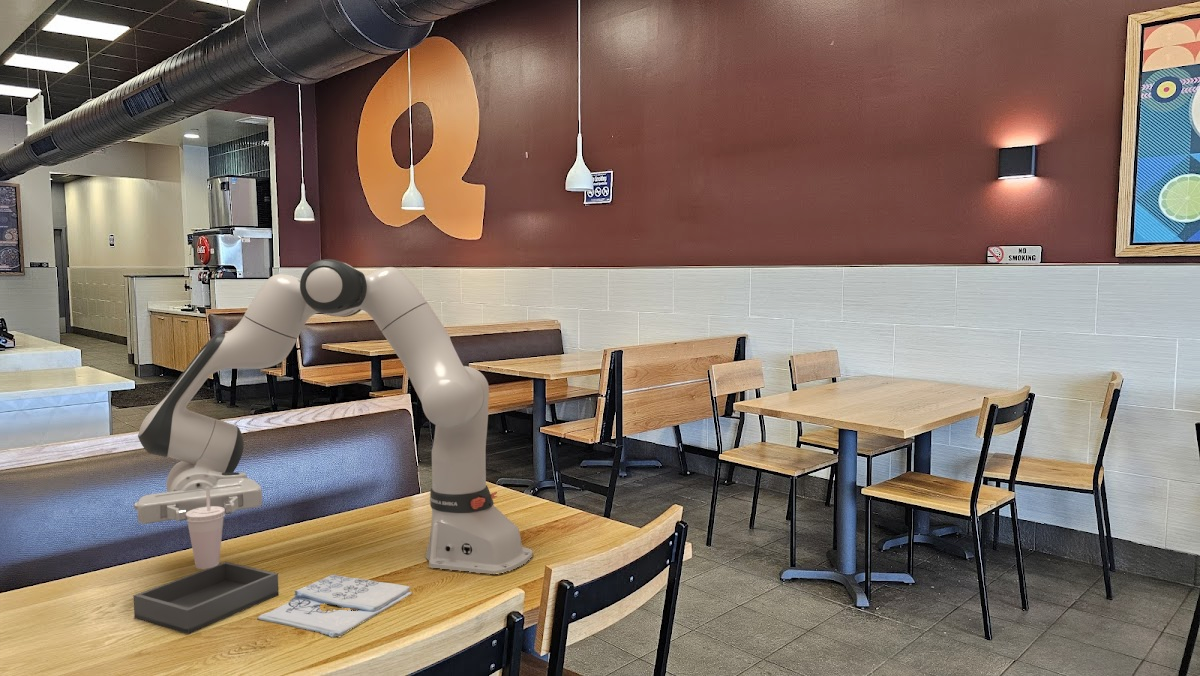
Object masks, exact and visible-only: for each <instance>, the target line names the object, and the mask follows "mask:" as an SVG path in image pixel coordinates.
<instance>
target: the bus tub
mask: <svg viewBox="0 0 1200 676" xmlns="http://www.w3.org/2000/svg"><path fill="white" fill-rule="evenodd" d="M279 593H280V592H279V573H276V572H272V571H268V570H263V569H259V568H255V567H251V566H246V565H242V564H239V563H234V562H231V561H223V562H221V563H219V564H218V565H217V566H215V567H212V568H207V569H201V570H199V571H196V572H194V573H191V574H188V575H185V576H183V577H180V578H177V579H175V580H172V581H169V582H167V583H164V584H162V585H161V584H160V585H158V586H155V587H153V588H150V589H148V590H145V591H142V592H141V591H140V592H139V593H136V594H133V596H132V597H133V610H134V611H133V615H134V617H133V618H134V619H135V620H138V621H142V622H147V623H149V624H153V625H156V626H158V627H162V628H166V629H169V630H173V631H175V632H178V633H181V634H186V635H190V634H193V633H195V632H198V631H200V630H202V629H205V628H206V627H209V626H210V625H213V624H216V623H218V622H220V621H222V620H225V619H227V618H230V617H232V616H234V615H236V614H238V613H241V612H243V611H246V610H247V609H249V608H252V607H254V606H257V605H259V604H261V603H264V602H266V601H268V600H271V599H272V598H274V597H277V596H279Z"/></svg>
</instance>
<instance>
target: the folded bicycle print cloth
mask: <svg viewBox="0 0 1200 676" xmlns="http://www.w3.org/2000/svg"><path fill="white" fill-rule="evenodd" d="M410 589H411V586H408V585H402V584H398V583H392V582H382V581H376V580H369V579H364V578H357V577H348V576H343V575H338V574H331V575H328V576H325V577H324V578H321V579H319V580H317V581H315V582H313V583H310V584H308V585H306V586H304V587H301V588H298V589H296V590H294V596H293V597H292V598H291V599H289V602H286V603H284V604H282V605H280V606H278V607H276V608H274V609H271V610H270V611H267V612H265V613H263V614H260V615H259V616H257V620H259V621H262V622H263V621H264V622H269V623H274V624H279V625H283V626H286V627H287V626H288V627H293V628H297V629H301V630H305V629H306V630H305V631H310V632H314V631H315V632H316V633H319V632H320V633H321V635H323V634H325V635H324V636H327V635H329V636H328V637H330V638H331V637H333V638H336V637H335V636H338V637H337V638H339V636H341V635H343V634H344V633H346V632H347V631H348V630H350V629H351V628H353V627H355V626H357V625H358V624H360V623H362V622H363V621H365V620H367V621H369V620H370V619H369V618H371V617H372V618H374V617H376V616H377V615H376V614H378V613H380V612H381V613H383V612H384V611H383V610H385V609H387V608H388V609H390V608H391V607H390V606H392V605H394V604H395V603H397V602H399V601H400V600H402V599H403V598H405V597H407V596H408V595H410V594H412V593H413V592H412V591H409V590H410ZM324 603H325V604H329V605H328V606H336V605H337V607H338V608H340V607H343V608H350V609H354V610H355V609H358V611H357V610H356V611H353V610H352V611H351V610H348V611H347V610H335V609H333V611H328V610H327V611H322V610H321V609H320V605H321V604H324ZM399 603H400V602H399ZM397 604H398V603H397ZM395 605H396V604H395ZM395 605H394V606H395ZM389 607H390V608H389ZM392 607H393V606H392ZM343 608H342V609H343ZM388 609H387V610H388ZM382 611H383V612H382ZM385 611H386V610H385ZM381 613H380V614H381ZM375 615H376V616H375ZM378 615H379V614H378ZM373 616H374V617H373ZM372 618H371V619H372ZM368 619H369V620H368ZM365 622H366V621H365ZM362 624H363V623H362ZM360 625H361V624H360ZM357 627H358V626H357ZM355 628H356V627H355ZM350 631H351V630H350ZM320 633H319V634H320ZM347 633H348V632H347ZM347 633H346V634H347ZM344 635H345V634H344ZM344 635H343V636H344ZM341 637H342V636H341Z"/></svg>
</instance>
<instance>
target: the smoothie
mask: <svg viewBox="0 0 1200 676" xmlns="http://www.w3.org/2000/svg"><path fill="white" fill-rule="evenodd" d="M206 502H207V507H201V508H196V509H193V510H190V511H188V512H187V513H186V515H185V516H186V520H185V521H186V522H187V525H188V526H187V527H188V532H189V533H188V534H189V537H190V543H191V548H192V554H193V560H194V565H195V568H196V569H199V570H204V569H207V568H212V567H215V566H217V565H218V564H220V557H221V547H222V536H223V527H224V517H225V516H226V515H227V514H225V508H223V507H218V506H210V488H209V487H206Z"/></svg>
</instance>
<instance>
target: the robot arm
mask: <svg viewBox="0 0 1200 676" xmlns="http://www.w3.org/2000/svg"><path fill="white" fill-rule="evenodd" d="M361 311H364V312H365V313H366V314H368V315H369V316H370V318H372V320H373V321H374V323H375V324H376V326H377V327H378V329H379V330H380V332H381V334H382V335H383V336H384V338H385V339H386V340H387V342H388V343H389V345H390V347H391V348H392V349H393V351H394V352H395V354H396V356H397V358H398V359H399V360H400V362H401V363H402V365H403V367H404V369H405V371H406V373H407V376H408V377H409V380H410V383H411V385H412V387H413V388H414V391H415V392H416V394H417V397H418V398H419V400H420V403H421V407H422V410H423V411H422V412H423V413H424V415H425V417H426V418H427V419H428V421H430V422H431V423H432V424H433V425H435V426H434V427H435V429H434V438H433V443H432V449H431V481H432V482H431V486H432V487H431V489H430V490H429V491H430V493H429V496H430V497H429V502H430V503H429V504H430V508H431V513H432V514H431V526H430V533H429V539H428V545H427V548H426V553H425V559H426V558H427V559H428V560H429V561H428V560H427V559H426V560H427V561H428V567H429V568H430V567H431V568H430V569H433V568H440V569H439V570H442V569H450V570H449V571H452V570H461V571H469V572H468V573H471V572H478V573H477V574H480V573H490V574H491V573H493V574H496V573H502V572H505V571H509V570H512V569H515V568H517V567H519V566H520V567H522V566H524V565H525V564H527V563H528V562H529V561H531V559H532V558H533V556H534V554H533V553H534V552H533V550H532V549H531V548H529V547H526V546H523V545H522V537H521V533H520V530H519V526H517V525H516V524H515V523H514V522H513V521H512V520H510V519H509V518H508V517H507V516H506V515H505V514H504V513H503V512H502V511H501V510H500V509H498V508H497V506H495V505H494V504H495V503H494V500H493V499H495V498H497V497H498V495H497V494H498V491H494V492H492V493H491V491H490V489H489V487H488V485H487V474H486V473H487V468H486V466H487V465H486V464H487V463H486V462H487V461H486V460H487V458H486V453H487V452H486V447H487V435H488V423H489V422H488V421H489V399H490V397H489V396H490V387H489V382H488V380H487V378H486V377H485V375H484V374H483V373H482V372H481V371H479V370H478V369H476V368H474V367H472V366H467V365H463V363H462V361H461V359H460V357H459V355H458V353H457V350H456V348H455V347H454V345H453V343H452V340H451V336H450V333H449V332H448V331H447V329H446V328H445V326H444V325H443V323H442V322H441V321H440V319H439V317H438V315H436V313H435V312H434V310H433V308H432V307H431V305H430V304H429V303H428V300H427V299H425V297H424V295H423V294H422V293H421V292H420V290H419V289H418V288H417V286H416V285H415V284H414V283H413V282H412V281H411V280H410V278H408V276H407V275H406V274H405V273H404V272H403V271H401V270H400V269H398V268H396V267H393V266H389V267H387V266H386V267H382V268H379V269H377V270H374V271H373V272H371V273H367V274H364V273H363V272H362V271H360V270H358V269H357V268H356V269H355V267H353V266H351V265H350V264H348V263H346V262H343V261H340V260H336V259H333V258H332V259H331V258H328V259H320V260H317V261H315V262H313V263H311V264H310V265H308V267H306V268H305V269H304V271H303V273H302V275H301V277H300V278H299V277H297V276H294V275H291V274H286V273H279V274H278V273H277V274H274V275H272V276H270V277H268V279H267V280H266V281H264V284H263V285H262V286H261V288H259V290H258V291H257V292H256V294H255V296H254V297H253V299H252V300H251V301H250V304H249V305H248V307H247V309H246V311H245V312H244V315H243V316H242V318H241V320H240V321H239V322H238V323H237V324H236V325H235V326H234V327H233V328H232V329H231V330H229V331H227V332H226V333H218V334H215V335H214V336H212V337H211V338H210V339H209V340H208V341H207V342H206V343H205V345H203V346H202V348H201V349H200V350H199V352H198V353H197V354H196V355H195V356H194V358H193V359H192V360H191V361H190V363H189V364H188V365H187V366H186V367H185V370H183V372H182V373H181V374H180V375H179V377H178V378H177V380H176V381H175V382H174V383H173V385H172V386H171V388H169V390H168V391H167V393H166V394H165V395H164V396H163V398H161V400H160V401H159V402H158V403H157V405H156V406H155V407H154V408H152V409H151V410H150V412H148V414H147V415H146V417H145V418H144V419H143V420H142V423H141V425H140V427H139V431H138V436H137V437H138V440H139V442H140V445H142V448H143V449H144V450H145V452H146V453H147V454H149V455H155V456H160V457H164V458H171V459H174V460H178V461H179V462H177V463H175V464H174V466H172V468H171V469H170V471H169V472H168V476H167V477H166V491H165V492H160V493H159V492H158V493H151V494H150V493H149V494H146V495H143V496H140V498H139V500H138V501H136V502H135V503H134V504H133V509H134V510H135V511H137V523H139V524H142V525H145V524H146V525H147V524H153V523H161V522H167V521H174V520H175V521H176V522H182V521H186V516H185V515H186V513H187V512H188V511H190V510H193V509H196V508H201V507H207V502H206V487H209V488H210V506H218V507H223V508H225V514H226V515H229V514H230V515H231V514H235V511H236V512H237V511H241V510H247V509H255V508H259V507H261V506H262V504H263V493H262V492H263V491H262V487H261V485H259V483H257V482H256V481H255V480H254V479H251V478H249V477H248V478H247V473H245V472H242V471H240V472H235V470H236V469H237V467H238V466H239V464H240V461H241V459H242V456H243V453H244V447H245V442H244V437H243V434H242V431H241V429H240V427H238V426H237V425H234V424H232V423H229V422H227V421H225V420H221V419H218V418H214V417H210V416H207V415H204V414H201V413H199V412H196V411H192V410H191V409H188V407H187V406H188V404H189V403H190V402H191V400H193V398H194V396H195V395H196V394H197V393H198V391H199V390H200V389H201V388H202V386H203V385H204V383H205V382H206V381H207V380H208V379H209V378H210V377H211V376H212V375H214V374H215V373H217V372H219V371H224V370H233V369H234V370H235V369H238V370H239V369H241V370H243V369H246V370H259V369H262V370H263V369H267V368H271V367H274V366H276V365H278V364H280V363H282V362H283V361H284V360H286V359H287V358H288V356H289V354H290V353H291V351H292V350H293V348H294V346H295V344H296V342H297V340H298V339H299V337H300V334H301V332H302V331H303V329H304V326H305V325H306V323H307V322H308V320H309V319H310V318H311V317H312V316H314V315H315V314H316V315H317V314H320V315H326V316H328V317H329V316H330V317H335V318H336V317H337V318H341V317H342V318H345V317H351V316H354V315H357V314H358V313H359V312H361ZM532 555H533V556H532ZM531 557H532V558H531ZM530 558H531V559H530ZM528 560H529V561H528ZM527 561H528V562H527ZM526 562H527V563H526ZM523 564H524V565H523ZM521 565H522V566H521ZM520 567H519V568H520ZM517 569H518V568H517ZM515 570H516V569H515ZM461 571H460V572H461ZM512 571H513V570H512ZM509 572H510V571H509ZM490 574H489V575H490Z"/></svg>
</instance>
